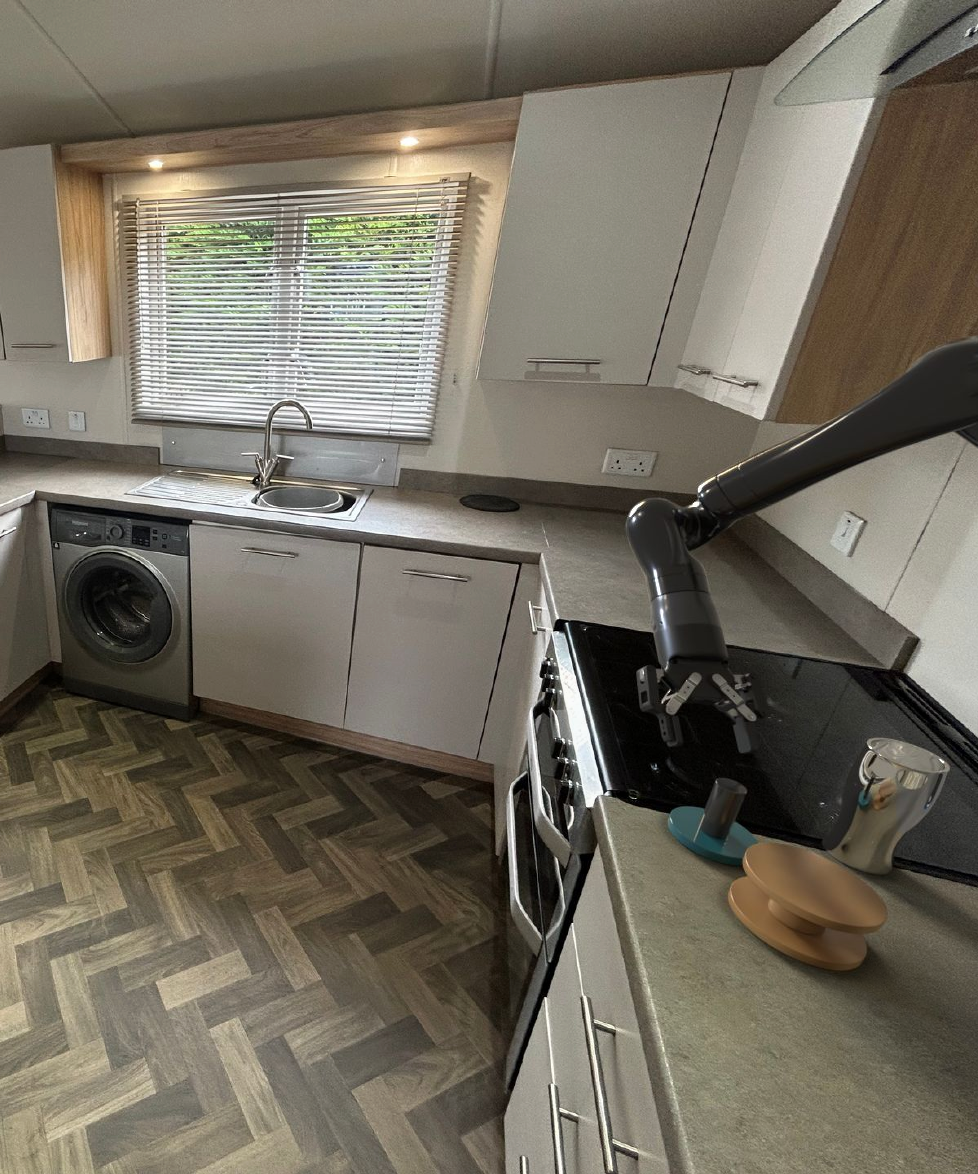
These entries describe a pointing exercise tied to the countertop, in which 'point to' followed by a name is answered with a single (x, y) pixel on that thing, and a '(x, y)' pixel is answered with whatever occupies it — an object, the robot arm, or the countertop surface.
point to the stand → (806, 906)
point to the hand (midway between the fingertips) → (712, 749)
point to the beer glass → (884, 803)
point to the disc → (714, 825)
